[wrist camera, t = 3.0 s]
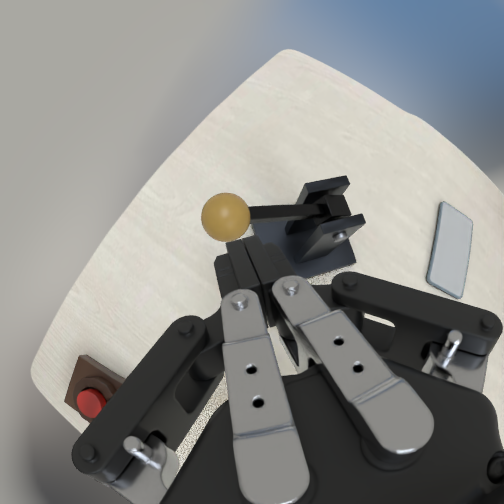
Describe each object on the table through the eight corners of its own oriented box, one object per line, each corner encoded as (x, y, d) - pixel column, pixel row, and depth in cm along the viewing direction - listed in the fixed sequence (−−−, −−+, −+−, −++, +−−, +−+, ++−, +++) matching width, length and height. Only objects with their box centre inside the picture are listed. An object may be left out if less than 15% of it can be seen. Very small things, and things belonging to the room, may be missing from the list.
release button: (80, 404, 28) (73, 407, 26) (87, 383, 29) (80, 385, 27) (102, 419, 28) (96, 423, 26) (110, 398, 29) (104, 401, 27)
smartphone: (427, 281, 37) (442, 199, 40) (423, 282, 38) (439, 201, 41) (462, 300, 36) (473, 220, 40) (458, 300, 37) (470, 222, 41)
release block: (71, 398, 31) (57, 404, 27) (86, 354, 33) (71, 356, 29) (128, 435, 31) (118, 445, 27) (146, 391, 33) (136, 397, 29)
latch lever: (201, 251, 21) (217, 232, 18) (190, 208, 22) (205, 184, 19) (334, 233, 28) (358, 219, 26) (322, 201, 29) (345, 185, 26)
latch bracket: (270, 289, 37) (289, 268, 23) (251, 224, 39) (257, 172, 25) (353, 264, 38) (405, 233, 25) (332, 204, 40) (369, 153, 27)
